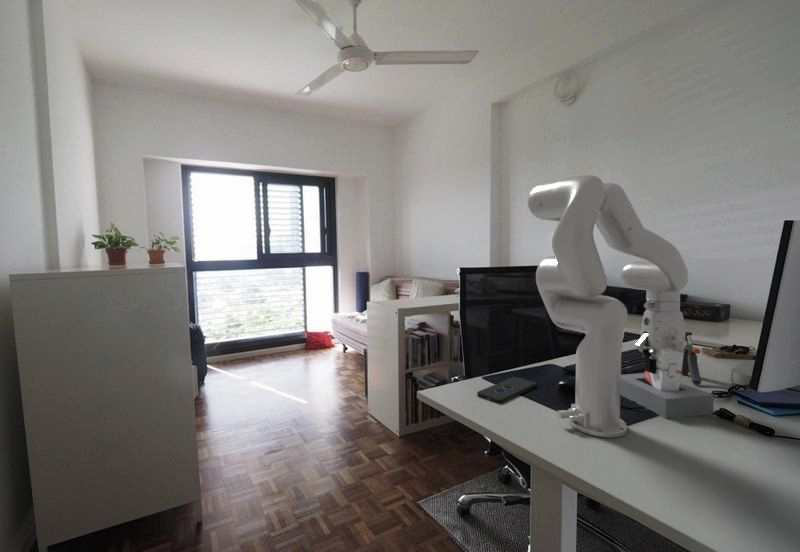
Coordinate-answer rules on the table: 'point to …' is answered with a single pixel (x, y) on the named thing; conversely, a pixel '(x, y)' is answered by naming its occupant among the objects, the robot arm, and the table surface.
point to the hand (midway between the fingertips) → (660, 370)
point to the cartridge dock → (666, 397)
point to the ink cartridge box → (667, 368)
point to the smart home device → (506, 390)
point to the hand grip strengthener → (691, 360)
